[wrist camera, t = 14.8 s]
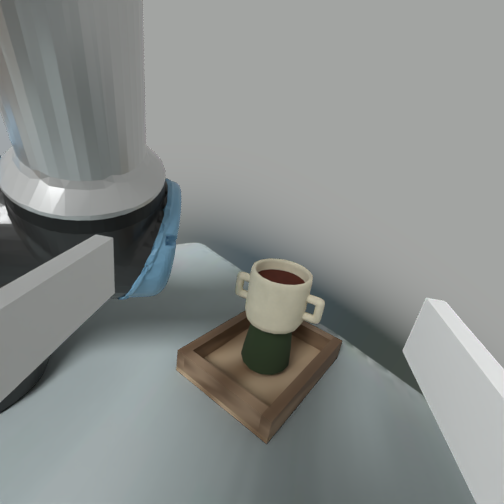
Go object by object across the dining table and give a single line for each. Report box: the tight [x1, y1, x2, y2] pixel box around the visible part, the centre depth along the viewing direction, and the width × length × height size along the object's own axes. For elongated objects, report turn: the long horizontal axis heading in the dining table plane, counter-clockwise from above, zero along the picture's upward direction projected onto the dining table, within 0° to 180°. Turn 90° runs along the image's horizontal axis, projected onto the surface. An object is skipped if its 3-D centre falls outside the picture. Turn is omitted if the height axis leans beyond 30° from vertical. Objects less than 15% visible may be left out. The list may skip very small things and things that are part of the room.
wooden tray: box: [176, 310, 342, 444], centre depth 40 cm, size 13×17×3 cm
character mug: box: [235, 258, 325, 375], centre depth 37 cm, size 11×7×13 cm, turn 65°
